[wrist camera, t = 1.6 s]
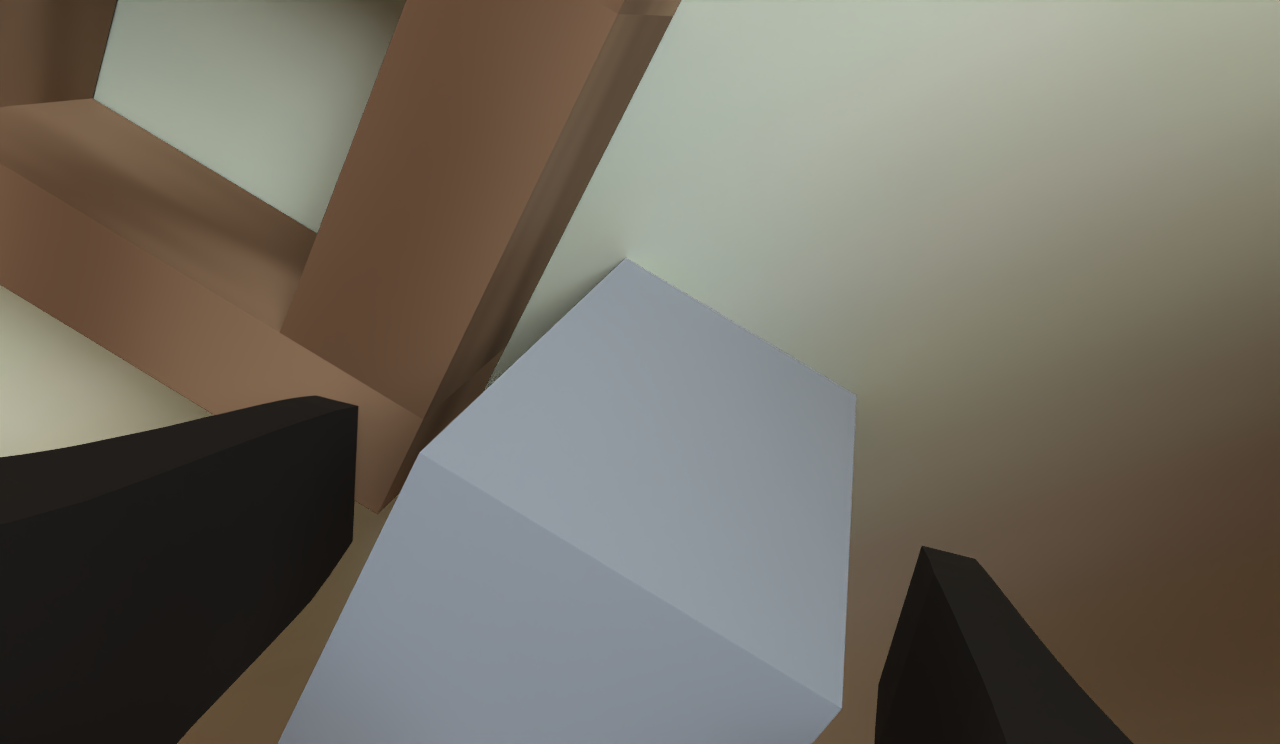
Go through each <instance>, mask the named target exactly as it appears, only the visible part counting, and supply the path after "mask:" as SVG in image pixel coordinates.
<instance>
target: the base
mask: <svg viewBox="0 0 1280 744" xmlns="http://www.w3.org/2000/svg"><path fill="white" fill-rule="evenodd" d="M116 2H117V0H0V285H2V286H4V287H5V288H7V289H9V290H10V291H12V292H13V293H15V294H17V295H18V296H20V297H22V298H23V299H25V300H27V301H28V302H30V303H31V304H33V305H35V306H36V307H38V308H40V309H41V310H43V311H45V312H46V313H48V314H50V315H51V316H53V317H54V318H56V319H58V320H59V321H61V322H63V323H64V324H66V325H68V326H69V327H71V328H73V329H74V330H76V331H77V332H79V333H81V334H82V335H84V336H86V337H87V338H89V339H91V340H92V341H94V342H96V343H97V344H99V345H100V346H102V347H104V348H105V349H107V350H109V351H110V352H112V353H114V354H115V355H117V356H118V357H120V358H122V359H123V360H125V361H127V362H128V363H130V364H132V365H133V366H135V367H137V368H138V369H140V370H141V371H143V372H145V373H146V374H148V375H150V376H151V377H153V378H155V379H156V380H158V381H160V382H161V383H163V384H164V385H166V386H168V387H169V388H171V389H173V390H174V391H176V392H178V393H179V394H181V395H182V396H184V397H186V398H187V399H189V400H191V401H192V402H194V403H196V404H197V405H199V406H201V407H202V408H204V409H205V410H207V411H209V412H210V413H212V414H214V415H218V414H222V413H226V412H230V411H235V410H239V409H243V408H247V407H252V406H256V405H261V404H265V403H270V402H275V401H279V400H285V399H290V398H296V397H304V396H314V395H317V396H321V397H325V398H329V399H333V400H337V401H341V402H345V403H349V404H353V405H357V406H359V407H358V430H357V452H356V474H355V497H354V500H355V501H356V502H358V503H360V504H361V505H363V506H365V507H366V508H368V509H370V510H371V511H373V512H375V513H376V514H378V513H379V512H380V511H381V510H382V509H383V508H384V507H385V506H386V505H387V504H388V503H389V502H390V501H391V500H393V499H394V498H395V497H396V496H397V495H398V494H399V493H400V492H401V490H402V487H403V485H404V483H405V481H406V479H407V477H408V475H409V473H410V471H411V469H412V467H413V465H414V463H415V461H416V459H417V457H418V455H419V453H420V452H421V451H422V450H423V449H424V448H425V447H426V446H427V445H428V444H429V443H430V442H431V441H432V440H433V439H434V438H435V437H436V436H437V435H439V434H440V433H441V432H442V431H443V430H444V429H445V428H446V427H447V426H448V425H449V424H450V423H451V422H452V421H453V420H454V419H456V418H457V417H458V416H459V415H460V414H461V413H462V412H463V411H464V410H465V409H466V408H467V407H468V406H469V405H470V404H471V403H472V402H474V401H475V400H476V399H477V398H478V397H479V396H480V395H481V394H482V393H483V391H484V389H485V387H486V385H487V383H488V381H489V379H490V377H491V375H492V373H493V371H494V369H495V367H496V365H497V363H498V361H499V359H500V357H501V355H502V353H503V351H504V349H505V347H506V345H507V343H508V341H509V339H510V337H511V335H512V333H513V331H514V329H515V327H516V325H517V323H518V322H519V320H520V318H521V316H522V314H523V312H524V310H525V308H526V306H527V304H528V302H529V300H530V298H531V296H532V294H533V292H534V290H535V288H536V286H537V284H538V282H539V280H540V278H541V276H542V274H543V272H544V270H545V268H546V266H547V264H548V262H549V260H550V258H551V256H552V254H553V252H554V250H555V248H556V246H557V244H558V243H559V241H560V239H561V237H562V235H563V233H564V231H565V229H566V227H567V225H568V223H569V221H570V219H571V217H572V215H573V213H574V211H575V209H576V207H577V205H578V203H579V201H580V199H581V197H582V195H583V193H584V191H585V189H586V187H587V185H588V183H589V181H590V179H591V177H592V175H593V173H594V171H595V169H596V167H597V165H598V164H599V162H600V160H601V158H602V156H603V154H604V152H605V150H606V148H607V146H608V144H609V142H610V140H611V138H612V136H613V134H614V132H615V130H616V128H617V126H618V124H619V122H620V120H621V118H622V116H623V114H624V112H625V110H626V108H627V106H628V104H629V102H630V100H631V98H632V96H633V94H634V92H635V90H636V88H637V86H638V85H639V83H640V81H641V79H642V77H643V75H644V73H645V71H646V69H647V67H648V65H649V63H650V61H651V59H652V57H653V55H654V53H655V51H656V49H657V47H658V45H659V43H660V41H661V39H662V37H663V35H664V33H665V31H666V29H667V27H668V25H669V23H670V21H671V19H672V17H673V15H674V13H675V11H676V9H677V7H678V6H679V4H680V2H681V0H406V2H405V5H404V8H403V10H402V13H401V15H400V18H399V21H398V23H397V26H396V29H395V31H394V34H393V36H392V39H391V42H390V44H389V47H388V50H387V52H386V55H385V57H384V60H383V63H382V65H381V68H380V71H379V73H378V76H377V78H376V81H375V84H374V86H373V89H372V92H371V94H370V97H369V99H368V102H367V105H366V107H365V110H364V113H363V115H362V118H361V120H360V123H359V126H358V128H357V131H356V134H355V136H354V139H353V141H352V144H351V147H350V149H349V152H348V155H347V157H346V160H345V162H344V165H343V168H342V170H341V173H340V176H339V178H338V181H337V183H336V186H335V189H334V191H333V194H332V197H331V199H330V202H329V205H328V207H327V210H326V212H325V215H324V218H323V220H322V223H321V226H320V228H319V231H318V233H315V232H314V231H312V230H310V229H309V228H307V227H305V226H304V225H302V224H300V223H299V222H297V221H295V220H294V219H292V218H290V217H289V216H287V215H285V214H284V213H282V212H280V211H279V210H277V209H275V208H274V207H272V206H270V205H269V204H267V203H266V202H264V201H262V200H261V199H259V198H257V197H256V196H254V195H252V194H251V193H249V192H247V191H246V190H244V189H242V188H241V187H239V186H237V185H236V184H234V183H232V182H231V181H229V180H227V179H226V178H224V177H222V176H221V175H219V174H217V173H216V172H214V171H212V170H211V169H209V168H207V167H206V166H204V165H202V164H201V163H199V162H197V161H196V160H194V159H192V158H191V157H189V156H187V155H186V154H184V153H183V152H181V151H179V150H178V149H176V148H174V147H173V146H171V145H169V144H168V143H166V142H164V141H163V140H161V139H159V138H158V137H156V136H154V135H153V134H151V133H149V132H148V131H146V130H144V129H143V128H141V127H139V126H138V125H136V124H134V123H133V122H131V121H129V120H128V119H126V118H124V117H123V116H121V115H119V114H118V113H116V112H114V111H113V110H111V109H109V108H108V107H106V106H104V105H103V104H101V103H100V102H98V101H96V100H95V99H93V94H94V90H95V86H96V82H97V78H98V74H99V70H100V66H101V62H102V58H103V54H104V50H105V46H106V42H107V38H108V34H109V30H110V26H111V22H112V18H113V14H114V10H115V6H116Z"/></svg>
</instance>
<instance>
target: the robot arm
mask: <svg viewBox="0 0 1280 744" xmlns="http://www.w3.org/2000/svg"><path fill="white" fill-rule="evenodd" d="M358 407H359V406H357V405H353V404H349V403H345V402H341V401H337V400H333V399H329V398H325V397H321V396H317V395H314V396H304V397H296V398H290V399H285V400H279V401H275V402H270V403H265V404H261V405H256V406H252V407H247V408H243V409H239V410H235V411H230V412H226V413H222V414H218V415H214V416H209V417H205V418H201V419H197V420H193V421H189V422H184V423H180V424H176V425H172V426H168V427H163V428H159V429H154V430H149V431H144V432H140V433H135V434H130V435H125V436H120V437H116V438H111V439H106V440H101V441H97V442H92V443H87V444H82V445H77V446H72V447H66V448H60V449H55V450H49V451H42V452H36V453H30V454H23V455H15V456H8V457H0V744H177V743H178V742H179V740H180V739H181V738H182V737H183V736H184V735H185V734H186V732H187V731H188V730H189V729H190V728H191V727H192V726H193V725H194V724H195V723H196V722H197V720H198V719H199V718H200V717H201V716H202V715H203V714H204V713H205V712H206V711H207V710H208V709H209V708H210V707H211V706H212V705H213V704H214V703H215V702H216V701H217V700H218V698H219V697H220V696H221V695H222V694H223V693H224V692H225V691H226V690H227V689H228V688H229V687H230V686H231V685H232V684H233V683H234V682H235V681H236V680H237V679H238V678H239V677H240V675H241V674H242V673H243V672H244V671H245V670H246V669H247V668H248V667H249V666H250V665H251V664H252V663H253V662H254V661H255V660H256V659H257V658H258V657H259V656H260V655H261V654H262V652H263V651H264V650H265V649H266V648H267V647H268V646H269V645H270V644H271V643H272V642H273V641H274V640H275V639H276V638H277V637H278V636H279V634H280V633H281V632H282V631H283V630H284V629H285V628H286V627H287V626H288V625H289V624H290V623H291V622H292V621H293V620H294V618H295V617H296V616H297V615H298V614H299V613H300V612H301V611H302V610H303V609H304V608H305V606H306V605H307V604H308V603H309V602H310V601H311V600H312V598H313V597H314V596H315V594H316V593H317V592H318V590H319V589H320V587H321V586H322V585H323V583H324V582H325V581H326V579H327V578H328V577H329V575H330V574H331V572H332V571H333V569H334V568H335V566H336V565H337V563H338V562H339V561H340V559H341V558H342V556H343V555H344V553H345V552H346V550H347V549H348V547H349V546H350V544H351V543H352V541H353V519H354V497H355V474H356V452H357V430H358ZM875 744H1133V743H1132V742H1131V741H1130V740H1129V739H1128V738H1127V737H1126V736H1125V735H1124V734H1123V732H1122V731H1121V730H1120V729H1119V728H1118V727H1117V726H1116V725H1115V724H1114V723H1113V722H1112V721H1111V720H1110V719H1109V718H1108V716H1107V715H1106V714H1105V713H1104V712H1103V711H1102V710H1101V709H1100V708H1099V707H1098V706H1097V705H1096V704H1095V703H1094V702H1093V700H1092V699H1091V698H1090V697H1089V696H1088V695H1087V694H1086V693H1085V692H1084V691H1083V690H1082V688H1081V687H1080V686H1079V685H1078V684H1077V683H1076V682H1075V680H1074V679H1073V678H1072V677H1071V676H1070V675H1069V674H1068V672H1067V671H1066V670H1065V669H1064V668H1063V667H1062V665H1061V664H1060V663H1059V662H1058V661H1057V660H1056V658H1055V657H1054V656H1053V655H1052V654H1051V652H1050V651H1049V650H1048V649H1047V647H1046V646H1045V645H1044V644H1043V643H1042V641H1041V640H1040V639H1039V638H1038V636H1037V635H1036V634H1035V633H1034V632H1033V630H1032V629H1031V628H1030V627H1029V625H1028V624H1027V623H1026V622H1025V620H1024V619H1023V618H1022V616H1021V615H1020V614H1019V613H1018V611H1017V610H1016V609H1015V608H1014V606H1013V605H1012V604H1011V602H1010V601H1009V600H1008V599H1007V597H1006V596H1005V595H1004V594H1003V592H1002V591H1001V590H1000V588H999V587H998V586H997V585H996V583H995V582H994V581H993V580H992V578H991V577H990V576H989V575H988V573H987V572H986V571H985V570H984V569H983V567H982V566H981V565H980V564H979V563H978V562H977V561H976V560H975V559H973V558H969V557H965V556H961V555H957V554H953V553H949V552H945V551H941V550H937V549H933V548H929V547H925V546H922V547H921V550H920V554H919V557H918V560H917V563H916V566H915V570H914V573H913V576H912V579H911V582H910V586H909V589H908V592H907V595H906V598H905V602H904V605H903V608H902V611H901V614H900V618H899V621H898V624H897V627H896V630H895V634H894V637H893V640H892V643H891V646H890V650H889V653H888V656H887V659H886V662H885V666H884V669H883V672H882V675H881V678H880V682H879V686H878V699H877V713H876V726H875Z"/></svg>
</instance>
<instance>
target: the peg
mask: <svg viewBox="0 0 1280 744" xmlns="http://www.w3.org/2000/svg"><path fill="white" fill-rule="evenodd" d="M855 416H856V395H855V394H853V393H851V392H850V391H848V390H846V389H845V388H843V387H841V386H840V385H838V384H836V383H835V382H833V381H831V380H830V379H828V378H826V377H825V376H823V375H821V374H820V373H818V372H816V371H815V370H813V369H811V368H810V367H808V366H806V365H805V364H803V363H801V362H800V361H798V360H796V359H795V358H793V357H791V356H790V355H788V354H786V353H785V352H783V351H781V350H780V349H778V348H776V347H775V346H773V345H771V344H770V343H768V342H766V341H764V340H763V339H761V338H759V337H758V336H756V335H754V334H753V333H751V332H749V331H748V330H746V329H744V328H743V327H741V326H739V325H738V324H736V323H734V322H733V321H731V320H729V319H728V318H726V317H724V316H723V315H721V314H719V313H718V312H716V311H714V310H713V309H711V308H709V307H708V306H706V305H704V304H703V303H701V302H699V301H698V300H696V299H694V298H693V297H691V296H689V295H688V294H686V293H684V292H683V291H681V290H679V289H677V288H676V287H674V286H672V285H671V284H669V283H667V282H666V281H664V280H662V279H661V278H659V277H657V276H656V275H654V274H652V273H651V272H649V271H647V270H646V269H644V268H642V267H641V266H639V265H637V264H636V263H634V262H632V261H631V260H629V259H627V258H625V259H624V260H623V261H622V262H621V263H620V264H619V265H618V266H617V267H616V268H614V269H613V270H612V271H611V272H610V273H609V274H608V275H607V276H606V277H605V278H604V279H603V280H602V281H601V282H600V283H599V284H598V285H596V286H595V287H594V288H593V289H592V290H591V291H590V292H589V293H588V294H587V295H586V296H585V297H584V298H583V299H582V300H581V301H579V302H578V303H577V304H576V305H575V306H574V307H573V308H572V309H571V310H570V311H569V312H568V313H567V314H566V315H565V316H564V317H563V318H561V319H560V320H559V321H558V322H557V323H556V324H555V325H554V326H553V327H552V328H551V329H550V330H549V331H548V332H547V333H546V334H545V335H543V336H542V337H541V338H540V339H539V340H538V341H537V342H536V343H535V344H534V345H533V346H532V347H531V348H530V349H529V350H528V351H527V352H525V353H524V354H523V355H522V356H521V357H520V358H519V359H518V360H517V361H516V362H515V363H514V364H513V365H512V366H511V367H510V368H508V369H507V370H506V371H505V372H504V373H503V374H502V375H501V376H500V377H499V378H498V379H497V380H496V381H495V382H494V383H493V384H492V385H490V386H489V387H488V388H487V389H486V390H485V391H484V392H483V393H482V394H481V395H480V396H479V397H478V398H477V399H476V400H475V401H474V402H472V403H471V404H470V405H469V406H468V407H467V408H466V409H465V410H464V411H463V412H462V413H461V414H460V415H459V416H458V417H457V418H456V419H454V420H453V421H452V422H451V423H450V424H449V425H448V426H447V427H446V428H445V429H444V430H443V431H442V432H441V433H440V434H439V435H437V436H436V437H435V438H434V439H433V440H432V441H431V442H430V443H429V444H428V445H427V446H426V447H425V448H424V449H423V450H422V451H421V452H420V453H419V455H418V457H417V459H416V461H415V463H414V465H413V467H412V469H411V471H410V473H409V475H408V477H407V479H406V481H405V483H404V485H403V487H402V490H401V492H400V494H399V496H398V498H397V500H396V502H395V504H394V506H393V508H392V510H391V512H390V514H389V516H388V518H387V520H386V522H385V524H384V526H383V528H382V531H381V533H380V535H379V537H378V539H377V541H376V543H375V545H374V547H373V549H372V551H371V553H370V555H369V557H368V559H367V561H366V563H365V565H364V567H363V570H362V572H361V574H360V576H359V578H358V580H357V582H356V584H355V586H354V588H353V590H352V592H351V594H350V596H349V598H348V600H347V602H346V604H345V606H344V608H343V611H342V613H341V615H340V617H339V619H338V621H337V623H336V625H335V627H334V629H333V631H332V633H331V635H330V637H329V639H328V641H327V643H326V645H325V647H324V650H323V652H322V654H321V656H320V658H319V660H318V662H317V664H316V666H315V668H314V670H313V672H312V674H311V676H310V678H309V680H308V682H307V684H306V686H305V688H304V691H303V693H302V695H301V697H300V699H299V701H298V703H297V705H296V707H295V709H294V711H293V713H292V715H291V717H290V719H289V721H288V723H287V725H286V727H285V730H284V732H283V734H282V736H281V738H280V740H279V742H278V744H812V743H813V742H814V741H815V739H816V738H817V737H818V736H819V735H820V734H821V732H822V731H823V730H824V729H825V728H826V727H827V725H828V724H829V723H830V722H831V721H832V720H833V718H834V717H835V716H836V715H837V714H838V713H839V711H840V710H841V709H842V696H843V674H844V653H845V631H846V610H847V588H848V567H849V545H850V524H851V502H852V481H853V459H854V437H855Z"/></svg>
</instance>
